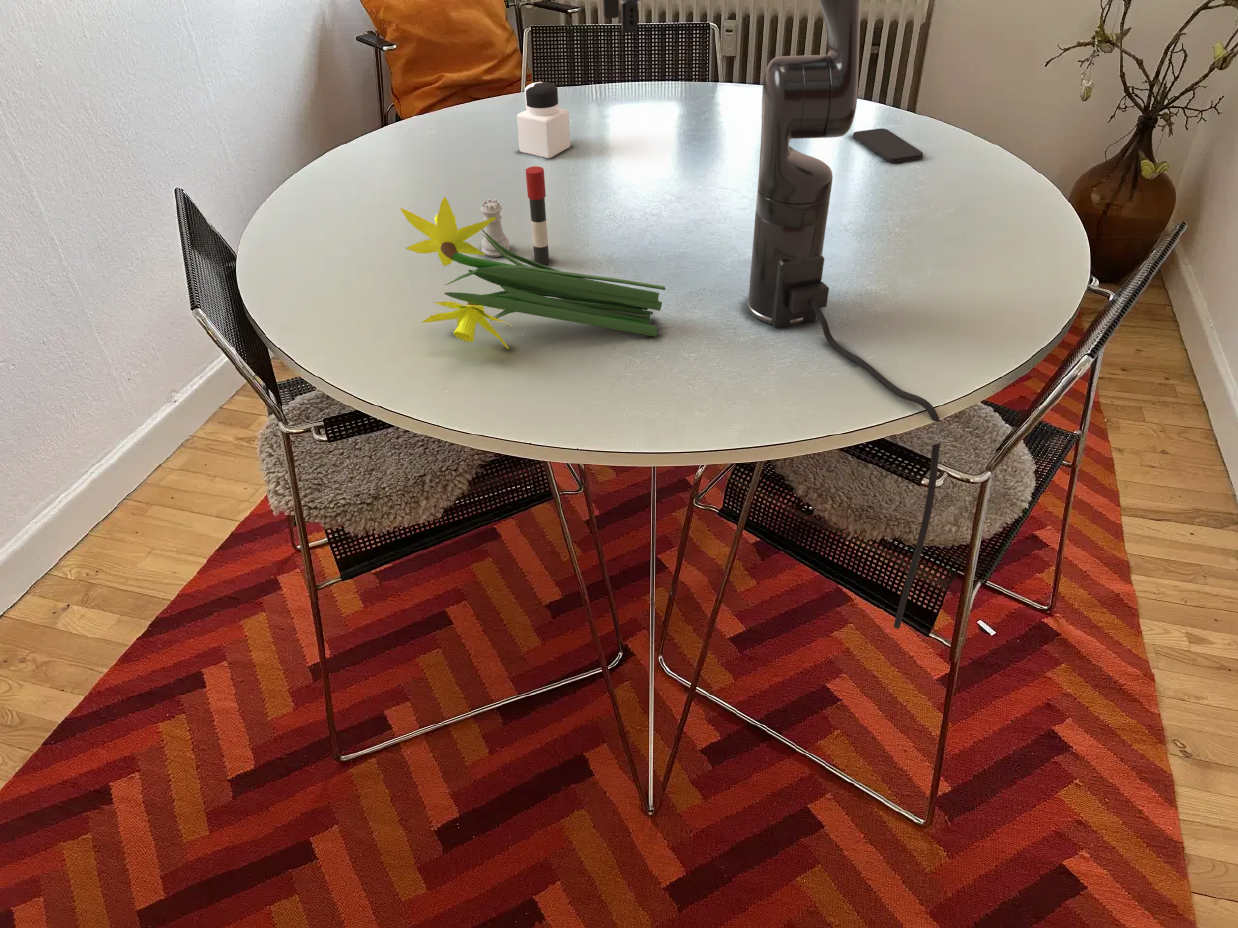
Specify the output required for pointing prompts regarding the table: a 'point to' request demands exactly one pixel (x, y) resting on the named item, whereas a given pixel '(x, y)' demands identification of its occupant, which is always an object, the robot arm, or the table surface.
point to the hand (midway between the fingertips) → (620, 25)
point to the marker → (538, 213)
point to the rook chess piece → (493, 228)
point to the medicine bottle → (543, 122)
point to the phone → (887, 145)
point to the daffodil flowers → (529, 285)
